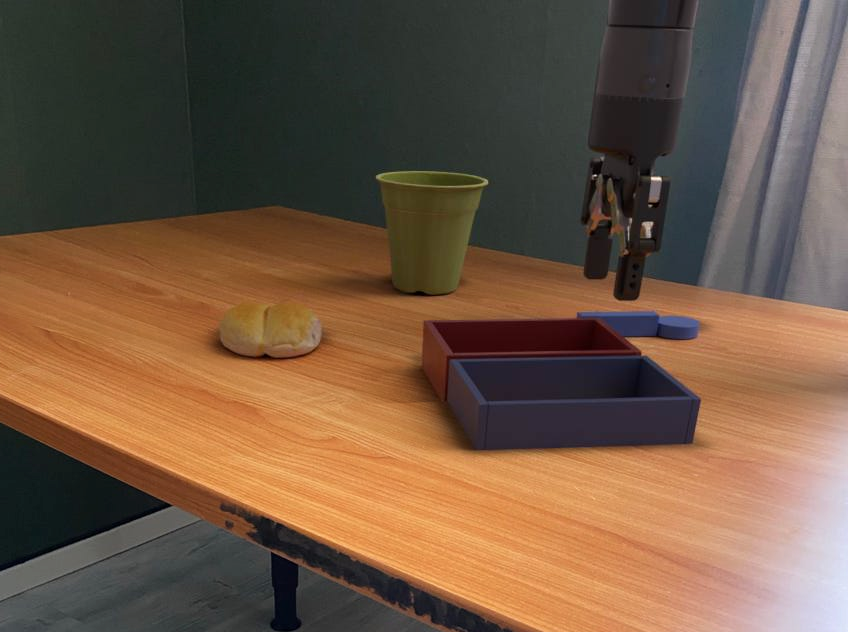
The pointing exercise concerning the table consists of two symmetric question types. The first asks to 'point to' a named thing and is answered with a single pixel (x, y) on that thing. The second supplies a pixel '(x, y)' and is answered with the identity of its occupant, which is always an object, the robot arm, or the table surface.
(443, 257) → the plant pot
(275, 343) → the bread roll
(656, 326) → the spoon blue
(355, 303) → the table surface
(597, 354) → the red bin
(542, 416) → the blue bin
